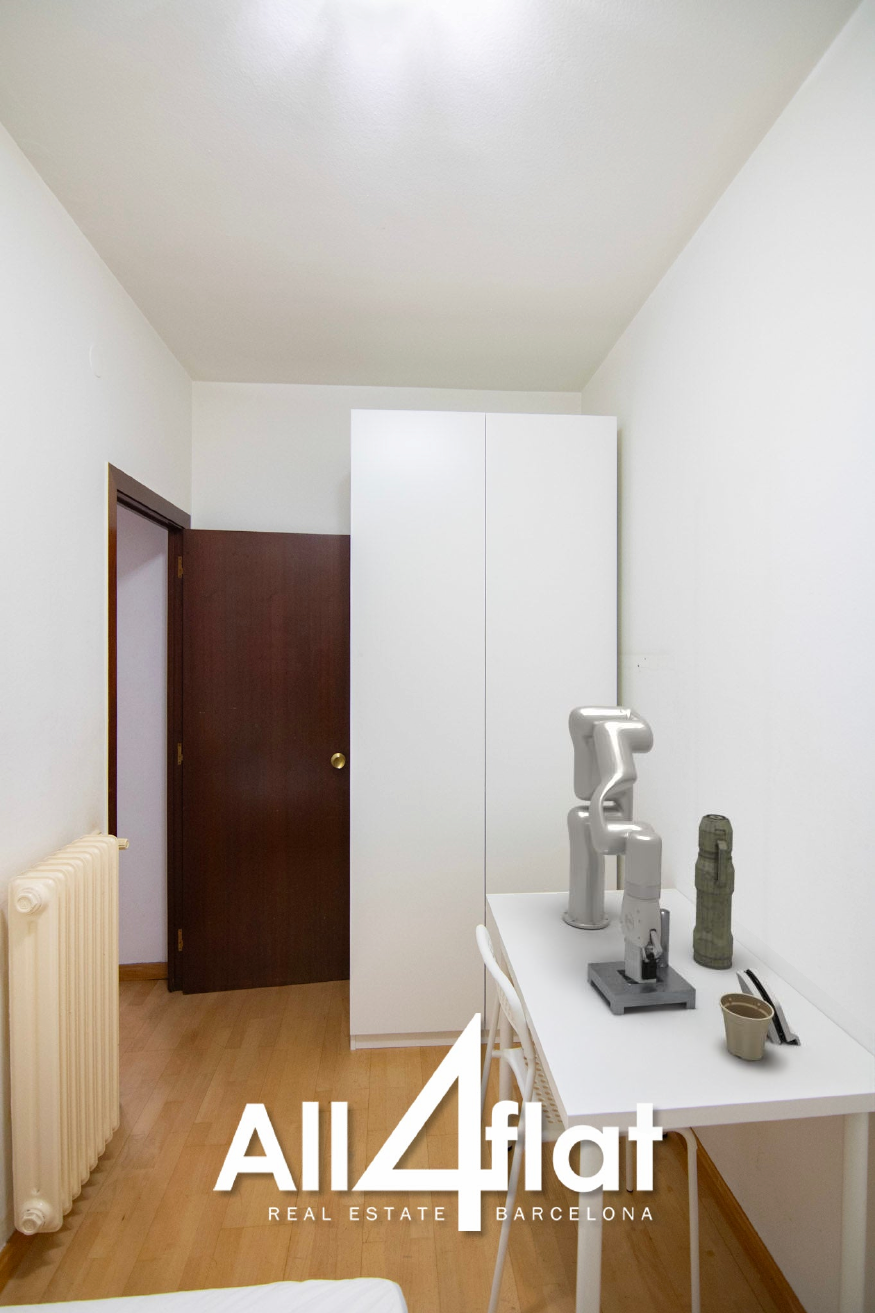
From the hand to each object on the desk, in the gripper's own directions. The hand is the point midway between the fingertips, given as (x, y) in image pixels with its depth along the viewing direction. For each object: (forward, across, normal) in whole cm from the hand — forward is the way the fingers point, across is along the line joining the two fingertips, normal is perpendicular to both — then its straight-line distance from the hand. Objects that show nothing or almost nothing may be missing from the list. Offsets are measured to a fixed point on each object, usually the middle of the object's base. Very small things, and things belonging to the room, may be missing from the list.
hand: (640, 969), depth 145 cm
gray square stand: (+5, 0, 0) cm, 5 cm away
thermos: (+6, -11, +25) cm, 28 cm away
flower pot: (+5, +22, +10) cm, 25 cm away
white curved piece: (+6, +14, +20) cm, 25 cm away
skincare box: (+2, +1, 0) cm, 2 cm away
